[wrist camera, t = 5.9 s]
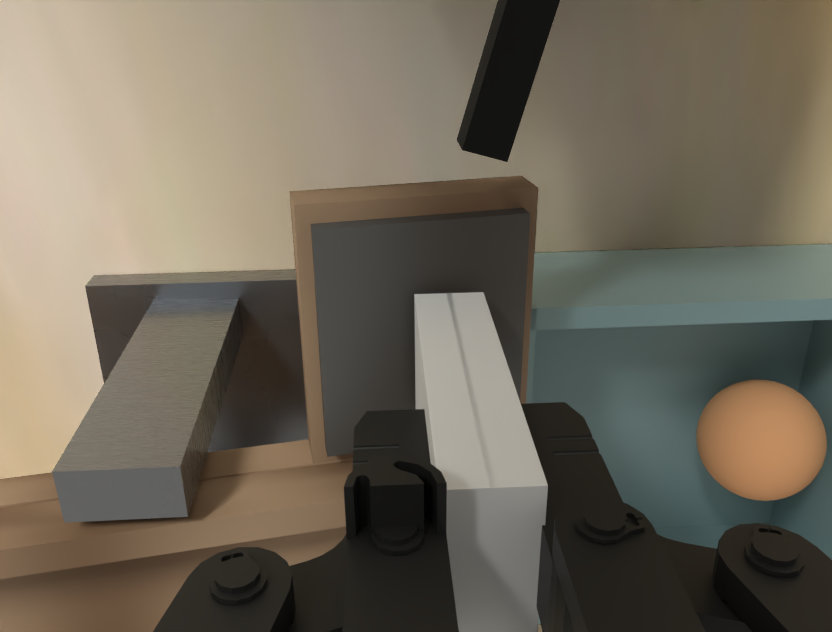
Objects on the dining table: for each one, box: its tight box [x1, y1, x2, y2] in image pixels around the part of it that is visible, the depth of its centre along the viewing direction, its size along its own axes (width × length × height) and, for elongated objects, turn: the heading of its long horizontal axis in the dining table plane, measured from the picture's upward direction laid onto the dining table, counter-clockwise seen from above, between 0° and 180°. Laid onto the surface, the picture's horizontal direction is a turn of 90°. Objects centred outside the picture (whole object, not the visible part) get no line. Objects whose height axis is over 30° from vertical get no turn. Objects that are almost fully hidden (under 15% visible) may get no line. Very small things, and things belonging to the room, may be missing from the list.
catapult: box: [0, 176, 538, 632], centre depth 16 cm, size 20×12×4 cm, turn 92°
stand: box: [52, 269, 308, 523], centre depth 21 cm, size 6×10×9 cm, turn 1°
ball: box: [696, 379, 827, 501], centre depth 24 cm, size 4×4×4 cm
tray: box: [526, 244, 832, 624], centre depth 23 cm, size 11×11×6 cm
